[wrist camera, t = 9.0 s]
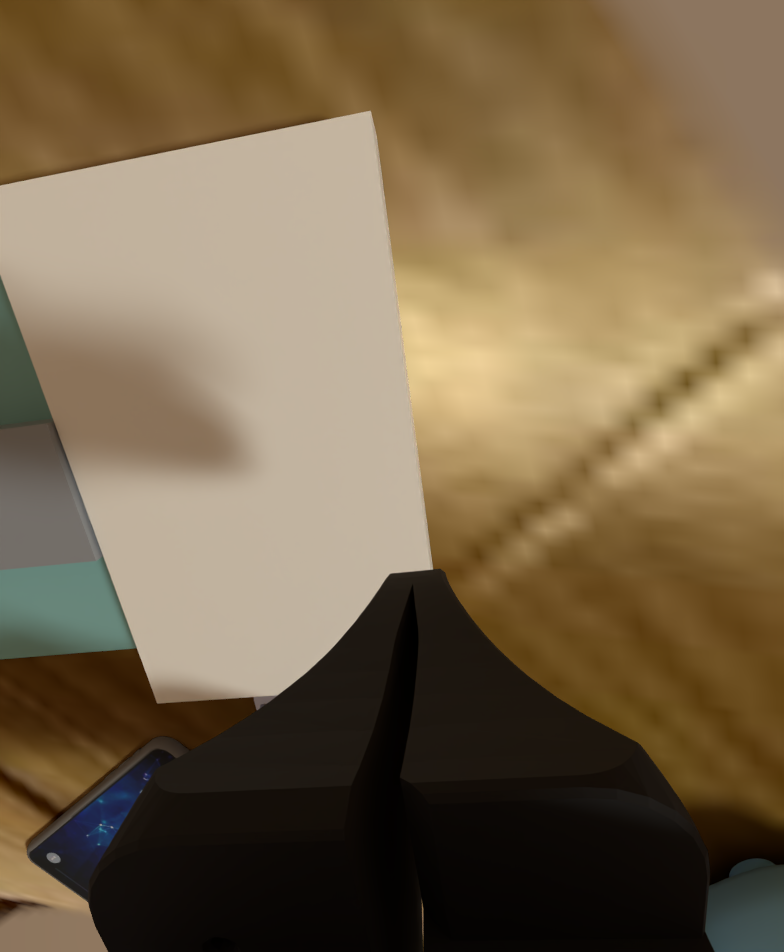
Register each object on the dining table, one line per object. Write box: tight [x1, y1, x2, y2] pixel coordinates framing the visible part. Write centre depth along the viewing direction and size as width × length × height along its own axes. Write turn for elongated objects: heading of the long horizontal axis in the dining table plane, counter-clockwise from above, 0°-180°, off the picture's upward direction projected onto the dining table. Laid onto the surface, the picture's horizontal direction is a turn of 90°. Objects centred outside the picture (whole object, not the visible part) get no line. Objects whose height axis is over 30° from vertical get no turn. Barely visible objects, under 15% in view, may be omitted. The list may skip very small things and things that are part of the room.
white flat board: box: [0, 111, 433, 704], centre depth 19 cm, size 22×14×2 cm, turn 8°
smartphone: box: [27, 736, 190, 902], centre depth 28 cm, size 7×1×15 cm
